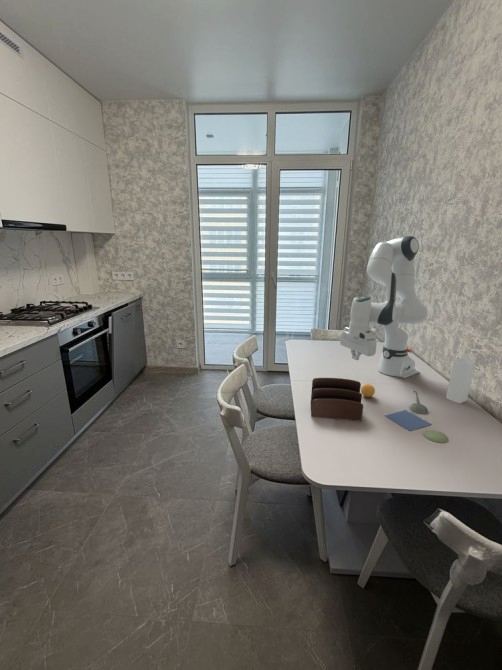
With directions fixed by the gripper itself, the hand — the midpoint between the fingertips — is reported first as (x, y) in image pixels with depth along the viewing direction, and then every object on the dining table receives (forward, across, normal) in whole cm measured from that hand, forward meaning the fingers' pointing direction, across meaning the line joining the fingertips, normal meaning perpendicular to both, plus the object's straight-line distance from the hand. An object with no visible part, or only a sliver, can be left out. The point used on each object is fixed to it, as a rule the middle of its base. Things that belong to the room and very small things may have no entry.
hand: (355, 359), depth 148 cm
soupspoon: (+16, +23, +17) cm, 33 cm away
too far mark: (+15, +44, 0) cm, 46 cm away
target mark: (+15, +32, 0) cm, 35 cm away
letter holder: (+16, +16, -23) cm, 32 cm away
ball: (+12, +10, 0) cm, 16 cm away
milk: (+15, +28, +36) cm, 48 cm away
